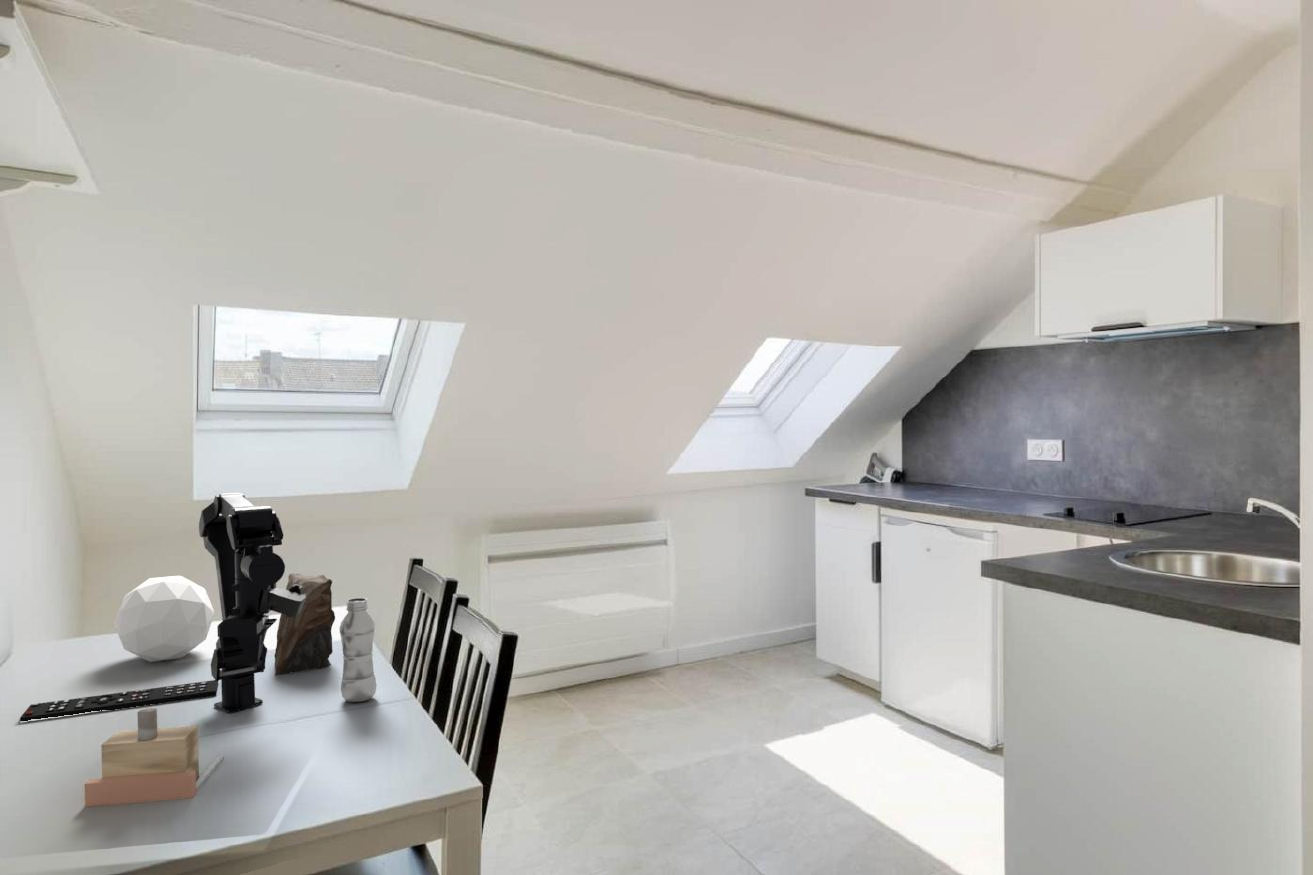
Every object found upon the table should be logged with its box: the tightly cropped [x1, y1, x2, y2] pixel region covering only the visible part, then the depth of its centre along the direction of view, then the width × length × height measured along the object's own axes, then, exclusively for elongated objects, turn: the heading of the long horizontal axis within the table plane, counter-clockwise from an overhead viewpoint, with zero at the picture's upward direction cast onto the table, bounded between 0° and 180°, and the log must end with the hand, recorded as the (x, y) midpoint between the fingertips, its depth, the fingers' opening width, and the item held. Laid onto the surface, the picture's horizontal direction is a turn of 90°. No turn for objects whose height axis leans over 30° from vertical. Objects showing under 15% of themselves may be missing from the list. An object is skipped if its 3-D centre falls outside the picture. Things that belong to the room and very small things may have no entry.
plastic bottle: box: [339, 597, 377, 703], centre depth 157 cm, size 6×7×20 cm
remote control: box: [19, 679, 219, 722], centre depth 157 cm, size 8×32×2 cm, turn 116°
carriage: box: [100, 707, 200, 781], centre depth 118 cm, size 5×11×12 cm, turn 100°
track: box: [84, 755, 225, 807], centre depth 120 cm, size 13×14×4 cm
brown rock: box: [274, 573, 336, 677], centre depth 180 cm, size 13×13×20 cm
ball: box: [113, 575, 215, 663], centre depth 185 cm, size 19×20×20 cm
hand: (255, 662), depth 143 cm, fingers closed
